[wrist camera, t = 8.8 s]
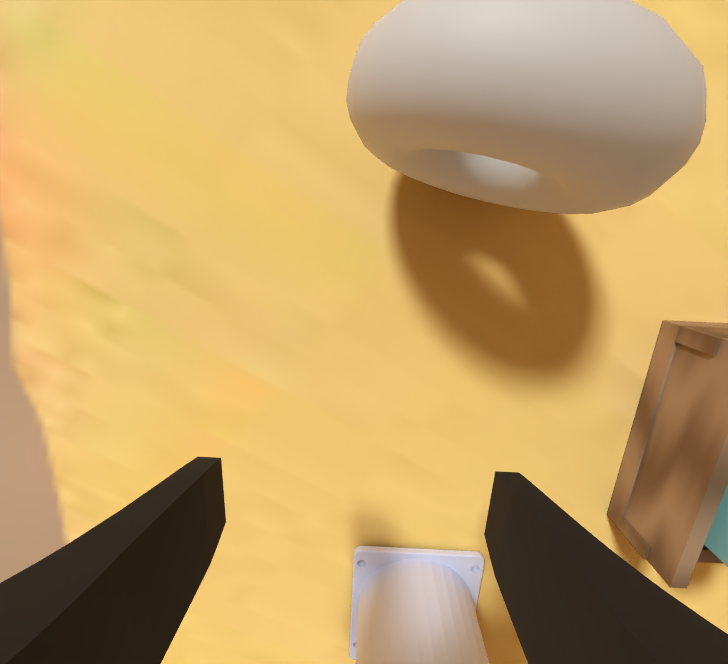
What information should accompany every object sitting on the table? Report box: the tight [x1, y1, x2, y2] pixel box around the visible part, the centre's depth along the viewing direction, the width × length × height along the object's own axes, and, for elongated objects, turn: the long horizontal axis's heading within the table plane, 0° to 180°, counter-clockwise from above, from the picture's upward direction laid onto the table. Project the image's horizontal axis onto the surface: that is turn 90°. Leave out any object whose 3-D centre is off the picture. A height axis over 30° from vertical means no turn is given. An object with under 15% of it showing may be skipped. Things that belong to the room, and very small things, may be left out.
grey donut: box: [347, 0, 706, 214], centre depth 11 cm, size 10×4×10 cm, turn 74°
